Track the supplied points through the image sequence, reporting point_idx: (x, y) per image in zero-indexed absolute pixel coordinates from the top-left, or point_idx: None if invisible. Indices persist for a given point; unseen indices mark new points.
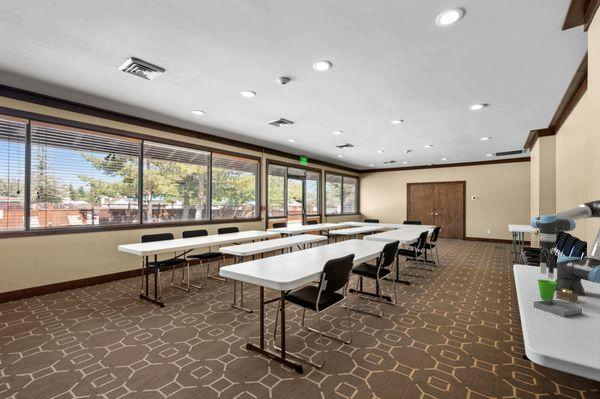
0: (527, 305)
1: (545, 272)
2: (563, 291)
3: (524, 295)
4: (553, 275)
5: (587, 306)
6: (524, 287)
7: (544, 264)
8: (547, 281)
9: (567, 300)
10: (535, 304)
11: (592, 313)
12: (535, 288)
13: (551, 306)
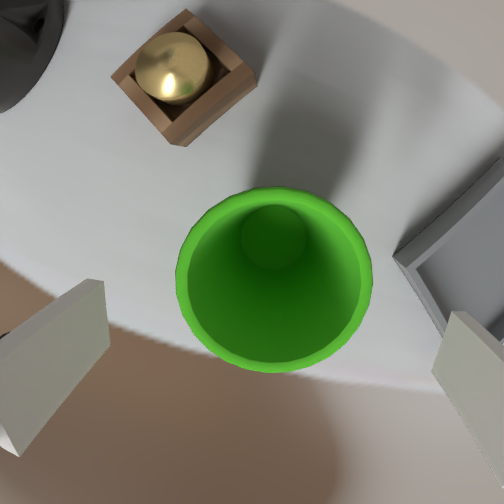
0: (434, 378)
1: (94, 296)
2: (185, 96)
3: None
4: (490, 338)
5: (320, 24)
6: (25, 273)
7: (11, 389)
8: (196, 254)
9: (243, 96)
10: None
11: (462, 83)
12: (13, 212)
13: (448, 277)
